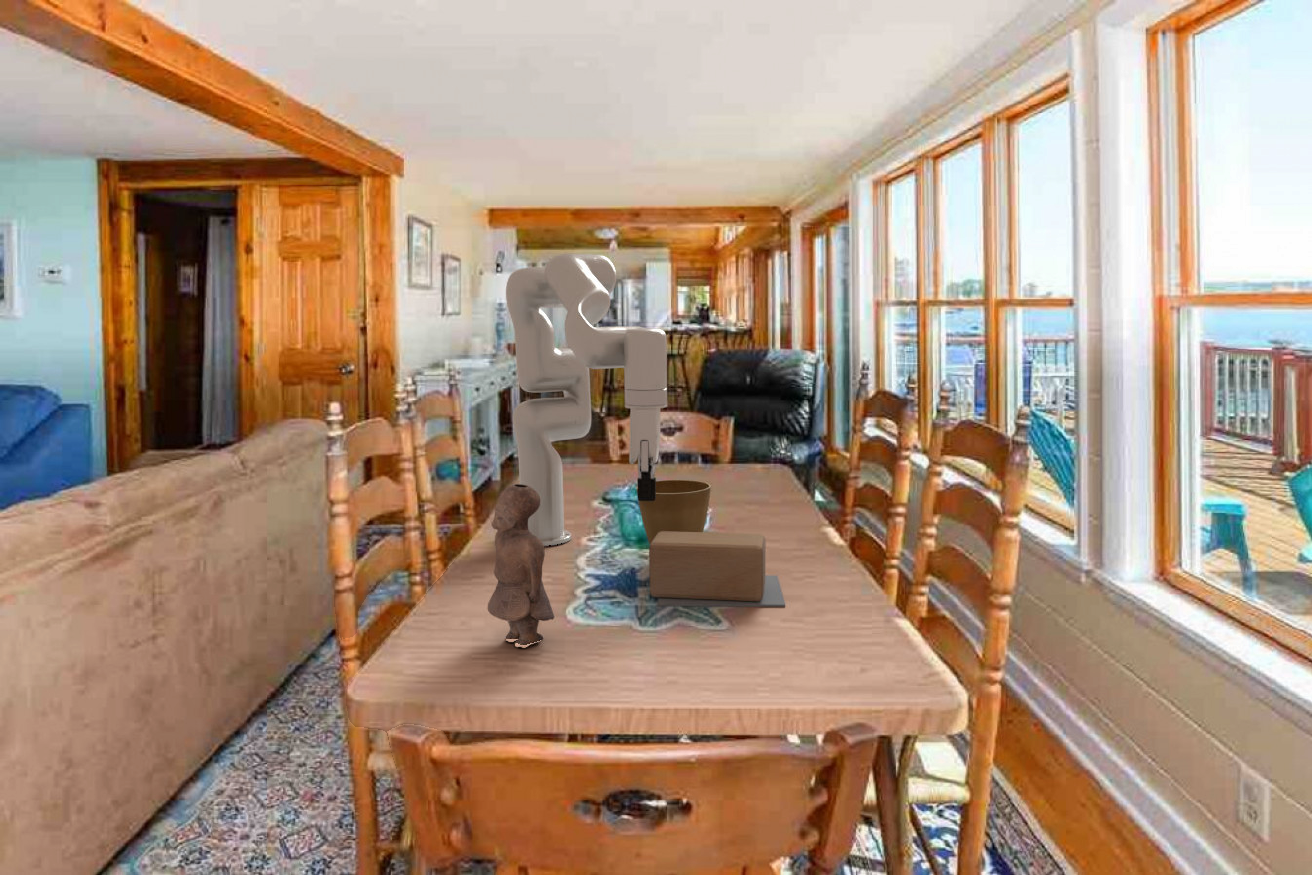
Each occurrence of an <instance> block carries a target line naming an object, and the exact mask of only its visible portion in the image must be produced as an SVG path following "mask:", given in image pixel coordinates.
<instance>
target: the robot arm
mask: <svg viewBox="0 0 1312 875" xmlns="http://www.w3.org/2000/svg"><path fill="white" fill-rule="evenodd" d="M616 283H617V271H616V268H615V266H614V264H613V262H612V261H611V260H610V259H609V258H608V257H606V256H604V255H602V254H593V253H591V254H589V253H562V254H558V255H555V256H554V257H551V259H550V260H548V262H547V263H546V265H545V266H531V267H524V268H522V267H521V268H519V269H516V270H514V271H513V272H512V273H511V274H510V275H509V277H508V279H507V281H506V286H505V287H506V288H505V298H506V299H505V300H506V305H507V306H506V307H507V309H508V313H509V315H510V319H511V322H512V325H513V328H514V329H513V331H514V341H515V343H514V345H515V360H516V374H517V375H516V376H517V381H518V385H519V386H520V388H521V389H522V390H523V391H524V392H528V393H550V392H551V393H552V392H553V393H554V392H563V397H561V396H559V397H546V398H533V399H528V400H525V401H522V402H520V403H519V404H518V405H517V406H516V407H515V408H514V410H513V413H512V424H513V425H512V426H513V430H514V434H515V435H514V436H515V440H516V446H517V455H518V470H519V471H518V473H519V484H523V485H527V486H530V487H531V488H533V489H534V490H535V491H536V492H537V493H538V495H539V497H540V507H539V508H538V510H537V511H536V512H535V513H534V514H533V515H531V516H530V517H529V519H528V529H529V531H530V532H531V533H532V534H533V535H534V536H536V537H537V538H539V539H540V540H541V541H542V543H543V545H544V547H549V545H551V546H556V545H557V544H558V545H562V544H566V543H567V542H569V541H570V540H571V539H572V533H571V532H570V531H569V530H567V529H565V519H564V517H565V516H564V515H565V514H564V481H563V480H564V479H563V462H562V458H561V456H560V454H559V452H558V451H557V450H556V449H555V448H554V446H553V444H552V442H557V441H558V442H559V441H566V440H573V439H574V440H576V439H581V438H583V437H585V436H586V435H588V434H589V432H590V430H591V427H592V400H591V380H590V379H591V378H590V369H592V370H601V369H602V370H603V369H619V368H621V369H624V370H623V371H624V374H623V375H624V408H626V409H630V412H629V413H630V414H629V454H628V455H629V456H628V457H629V458H628V460H629V464H631V465H634V463H636V462H637V468H638V469H637V470H638V471H637V472H638V474H637V476H638V477H637V486H638V495H637V501H638V500H639V501H655V499H656V481H657V477H656V473H655V472H656V471H655V468H656V467H655V465H656V463H658V460H659V453H660V443H661V409H664V408H668V357H667V356H668V344H667V343H668V339H667V338H668V337H667V334H666V332H665V330H662V329H659V328H645V327H642V326H634V325H633V326H623V325H622V326H618V325H617V326H597V327H595V326H594V325H595V324H597V323H599V322H600V321H602V320H603V319H604V317H605V316H606V315H607V313H608V312H609V309H610V307H611V296H610V295H611V293H612V292H613V291H614V289H615V286H616ZM541 308H542V309H543V308H544V309H545V308H546V309H548V308H549V309H550V308H557V309H558V308H559V309H560V308H563V309H565V310H566V311H567V313H566V315H565V319H564V335H565V339H566V343H567V345H568V346H567V347H559V348H557V347H556V342H555V329H554V325H553V323H552V322H551V320H550V318H549V317H548V316H547V314H546V313H545V311H543V310H542V309H541ZM639 501H638V502H639ZM561 543H562V544H561ZM558 545H557V546H558Z"/></svg>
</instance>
